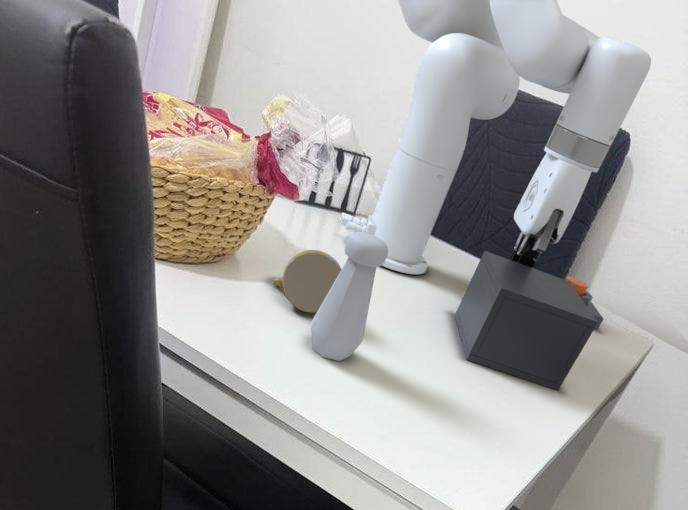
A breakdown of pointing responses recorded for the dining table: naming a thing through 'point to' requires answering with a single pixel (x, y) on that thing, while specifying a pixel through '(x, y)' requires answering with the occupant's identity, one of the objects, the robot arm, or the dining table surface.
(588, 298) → the panel
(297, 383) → the dining table surface
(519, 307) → the box
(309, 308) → the mug
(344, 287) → the salt shaker
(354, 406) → the dining table surface
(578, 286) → the button
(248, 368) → the dining table surface
